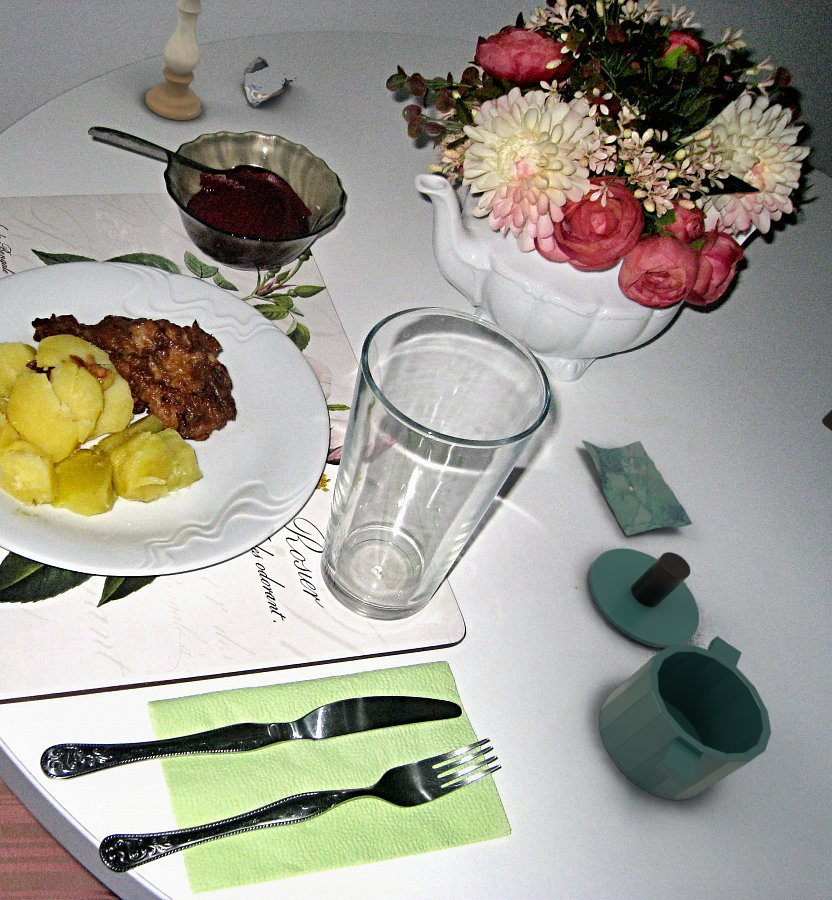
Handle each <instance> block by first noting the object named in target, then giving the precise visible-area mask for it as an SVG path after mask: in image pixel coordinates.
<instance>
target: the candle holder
mask: <svg viewBox="0 0 832 900" xmlns="http://www.w3.org/2000/svg"><path fill="white" fill-rule="evenodd" d="M175 6H176V8H177V9H178V16H177V21H176V26H175V29H174V31H173V33H172V35H171V37H169V39H168V41H167V42H166V44H165V46H164V48H163V53H162V54H163V55H162V57H163V61H164V63H165V65H166V66H165V67H164V68H163V70H162V75H163V77H164V80H165V82H159V83H157V84H156V85H155V86H153V87H151V88H150V89H148V90H147V91H146V94H145V104H146V106H147V107H148V109H149V110H150V111H152V113H155V114H156V115H159V116H160V117H163V118H166V119H169V120H175V121H189V120H193V119H195V118H197V117H199V116H200V114H201V113H202V110H203V107H202V108H201V110H200V111H198V112H197V113H194V112H195V111H197V110H198V109H199V108H200V101H199V99H200V97H199V96H198V95H197V94H196V92H195V91H194V90H193V88H190V87H189V86H190V85H191V83H192V82H193V81H194V80H195V74H194V71H195V70H196V68H197V67H198V66H199V64H200V60H201V53H200V47H199V44H198V39H197V25H198V19H199V15H201V14H202V13H203V12H204V8H203V5H202V2H201V0H178V1H177V2H176V4H175ZM197 96H198V97H197ZM191 113H194V114H191ZM188 114H191V115H188Z"/></svg>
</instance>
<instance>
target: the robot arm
mask: <svg viewBox="0 0 832 900" xmlns="http://www.w3.org/2000/svg"><path fill="white" fill-rule="evenodd" d="M821 423H822V424H823V426H825V427H826V428H827V429H828V430H830V431H831V432H832V409H830V411H828V412H827V413H826V415H824V416H823V418H822V419H821Z"/></svg>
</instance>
